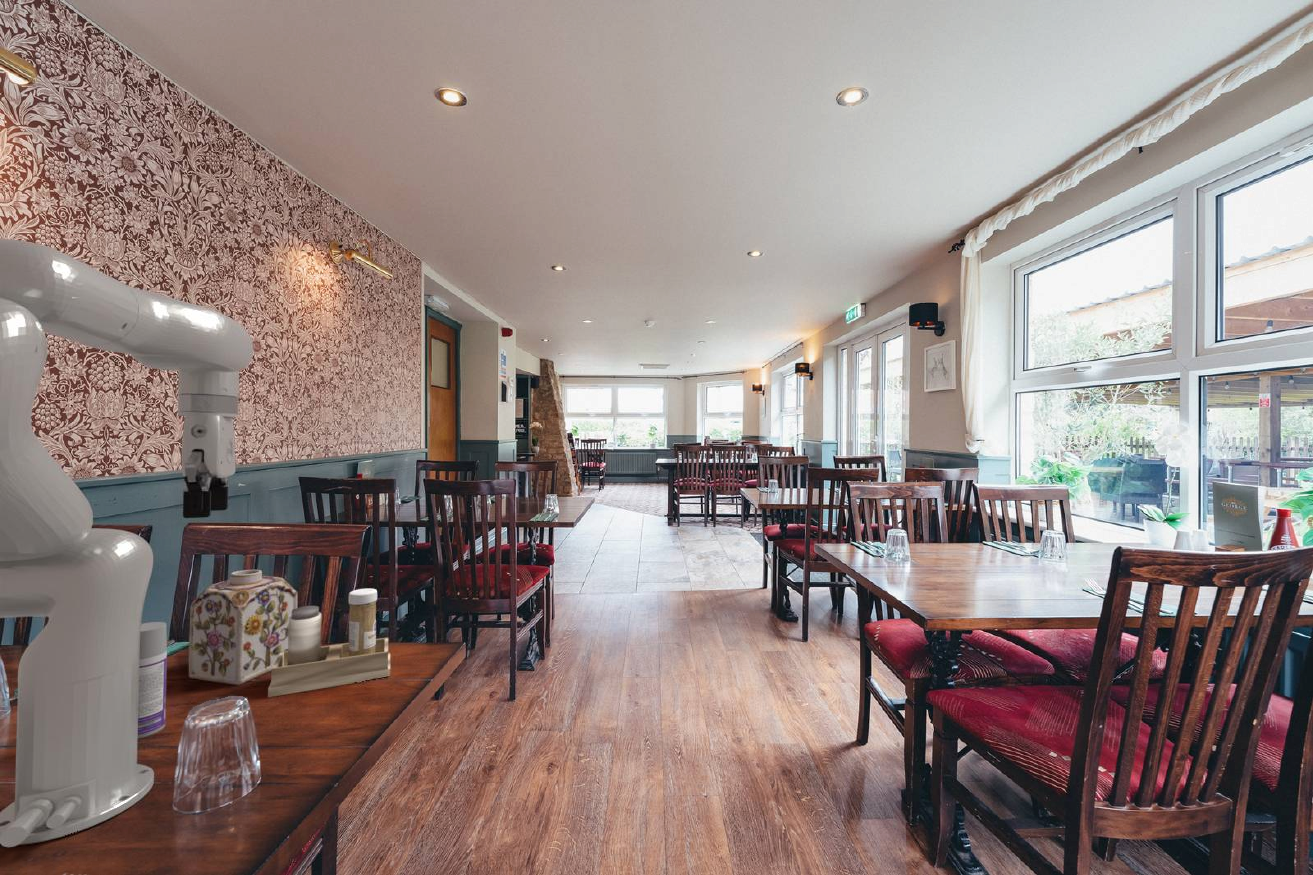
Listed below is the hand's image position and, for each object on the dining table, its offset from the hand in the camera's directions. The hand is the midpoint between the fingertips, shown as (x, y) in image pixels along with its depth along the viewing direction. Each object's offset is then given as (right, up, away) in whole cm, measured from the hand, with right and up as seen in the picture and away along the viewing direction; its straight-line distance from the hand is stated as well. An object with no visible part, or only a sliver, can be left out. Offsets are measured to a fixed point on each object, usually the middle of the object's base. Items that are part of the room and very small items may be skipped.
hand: (206, 513), depth 87 cm
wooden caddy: (+15, -31, +9) cm, 35 cm away
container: (-2, -30, -9) cm, 32 cm away
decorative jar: (-3, -31, +13) cm, 33 cm away
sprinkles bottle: (+19, -29, +11) cm, 37 cm away
